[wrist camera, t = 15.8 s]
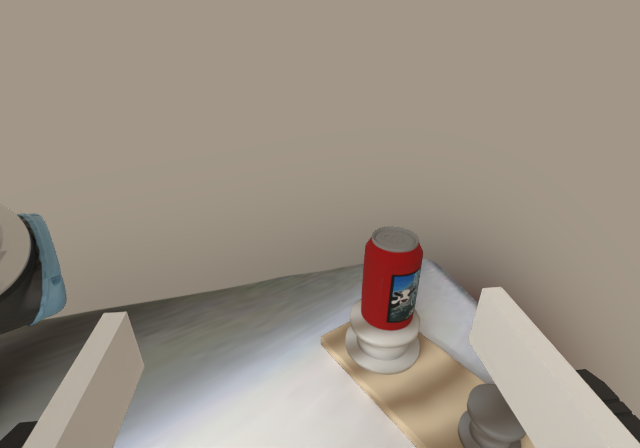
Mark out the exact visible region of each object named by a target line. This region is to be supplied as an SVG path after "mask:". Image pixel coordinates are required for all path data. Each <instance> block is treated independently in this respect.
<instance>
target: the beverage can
mask: <svg viewBox="0 0 640 448" xmlns="http://www.w3.org/2000/svg"><path fill="white" fill-rule="evenodd" d="M422 258H423V251H422V248H421V246H420V244H419V239H418V237H417V235H416V234H415V233H413V232H412V231H410V230H407V229H404V228H400V227H383V228H379V229H377V230H375V231H374V232H373V234H372V237H371V238H370V240H369V241H368V242H367V244H366V246H365V256H364V269H363V283H362V298H361V314H362V316H363V318H364V319H365V320H366V322H368V323H369V324H370V325H372V326H374V327H376V328H378V329H382V330H388V331H394V330H400V329H403V328H405V327H407V326H408V325H409V324H410V323H411V321H412V319H413V313H414V308H415V302H416V296H417V290H418V284H419V278H420V271H421V264H422Z"/></svg>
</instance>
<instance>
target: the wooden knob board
mask: <svg viewBox="0 0 640 448" xmlns="http://www.w3.org/2000/svg"><path fill="white" fill-rule="evenodd" d="M419 326H420V319H419V316H418V314H417V312H416V310H415V309H414V313H413V319H412V321H411V323H410V324H409V325H408V326H407V327H405V328H403V329H400V330H394V331H388V330H382V329H378V328H376V327H374V326H372V325H370V324H369V323H368V322H366V320H365V319H364V318H363V316H362V314H361V299H360V300H359V301H357V302H356V303H355V304H354V306H353V307H352V309H351V314H350V322H348V323H346V324H344V325H342V326H340V327H338V328H336V329H335V330H333V331H331V332H329V333H327V334H325V335H323V336H321V345H322V346H323V347H324V348H325V349H326V350H327V351H328V352H329V354H330V355H331V356H332V357H333V358H334V359H335V360H336V361H337V362H338V363H339V364H340V365H341V366H342V367H343V369H344V370H345V371H346V372H347V373H348V374H349V375H350V376H351V377H352V378H353V379H354V380H355V381H356V382H357V384H358V385H359V386H360V387H361V388H362V389H363V390H364V391H365V392H366V393H367V394H368V395H369V396H370V398H371V399H372V400H373V401H374V402H375V403H376V404H377V405H378V406H379V407H380V408H381V409H382V410H383V411H384V413H385V414H386V415H387V416H388V417H389V418H390V419H391V420H392V421H393V422H394V423H395V424H396V425H397V426H398V428H399V429H400V430H401V431H402V432H403V433H404V434H405V435H406V436H407V437H408V438H409V439H410V440H411V441H412V443H413V444H414V445H415V446H416V447H417V448H535V446H534V445H533V443H532V442H531V440H530V438H529V437H528V435H527V434H526V432H525V430H524V429H523V427H522V426H521V424H520V422H519V421H518V419H517V418H516V416H515V414H514V413H513V411H512V410H511V408H510V406H509V405H508V403H507V402H506V400H505V398H504V397H503V395H502V394H501V392H500V390H499V389H498V387H497V386H496V385H495V384H486V383H484V382H483V381H482V380H481V379H479V378H478V377H477V376H475V375H474V374H473V373H471V372H470V371H469V370H468V369H466V368H465V367H464V366H462V365H461V364H460V363H458V362H457V361H456V360H455V359H453V358H452V357H451V356H449V355H448V354H447V353H445V352H444V351H443V350H442V349H440V348H439V347H438V346H436V345H435V344H434V343H432V342H431V341H430V340H429V339H427V338H426V337H425V336H423V335H422V334H421V333H419Z"/></svg>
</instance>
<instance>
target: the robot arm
mask: <svg viewBox="0 0 640 448" xmlns="http://www.w3.org/2000/svg"><path fill="white" fill-rule="evenodd" d="M65 304H66V291H65V286H64V282H63V278H62V276H61V271H60V266H59V262H58V258H57V255H56V251H55V248H54V245H53V242H52V239H51V236H50V233H49V230H48V228H47V225H46V223H45V221H44V220H43V218H42V217H41V216H40V215H38V214H17V215H16V214H15V213H14V212H13V211H11V210H10V209H8V208H6V207H4V206H2V205H0V334H3V333H6V332H9V331H11V330H14V329H17V328H20V327H23V326H30V325H34V324H36V323H38V322H39V321H40V320H42V319H44V318H46V317H49V316H52V315H54V314H57V313H58V312H60V311H61V310H62V309H63V308H64V306H65ZM468 341H469V342H470V344H471V346H472V347H473V349H474V350H475V352H476V354H477V355H478V357H479V358H480V360H481V362H482V363H483V365H484V366H485V368H486V370H487V371H488V373H489V374H490V376H491V378H492V379H493V381H494V382H495V384H496V386H497V387H498V389H499V390H500V392H501V394H502V395H503V397H504V398H505V400H506V402H507V403H508V405H509V406H510V408H511V410H512V411H513V413H514V414H515V416H516V418H517V419H518V421H519V422H520V424H521V426H522V427H523V429H524V430H525V432H526V434H527V435H528V437H529V438H530V440H531V442H532V443H533V445H534V446H535V448H640V420H639V419H638V418H637V417H636V416H635V415H633V414H632V411H631V410H630V409H629V408H628V407H627V406H626V405H625V404H624V403H623V402H621V401H620V400H619V398H618V396H617V395H615V393H614V392H613V391H612V390H611V389H610V388H609V387H608V386H607V385H606V384H605V383H604V382H603V381H601V380H600V379H598V378H597V377H596V376H594V375H593V374H592V373H590V372H589V371H587V370H586V369H583V370H574V369H573V368H572V366H571V365H570V364H569V363H568V362H567V361H566V360H565V358H564V357H563V356H562V355H561V354H560V353H559V352H558V351H557V349H556V348H555V347H554V346H553V345H552V344H551V343H550V341H549V340H548V339H547V338H546V337H545V336H544V335H543V334H542V333H541V331H540V330H539V329H538V328H537V327H536V326H535V325H534V323H533V322H532V321H531V320H530V319H529V318H528V317H527V316H526V314H525V313H524V312H523V311H522V310H521V309H520V308H519V306H518V305H517V304H516V303H515V302H514V301H513V300H512V299H511V297H510V296H509V295H508V294H507V293H506V292H505V291H504V289H502V287H494V288H483V289H482V292H481V296H480V299H479V303H478V307H477V310H476V314H475V317H474V321H473V325H472V328H471V332H470V335H469V339H468ZM143 369H144V364H143V361H142V358H141V355H140V351H139V348H138V345H137V342H136V339H135V336H134V333H133V330H132V326H131V323H130V320H129V317H128V314H127V312H115V313H104V314H103V315H102V317H101V319H100V320H99V322H98V323H97V325H96V327H95V328H94V330H93V332H92V333H91V335H90V337H89V338H88V340H87V342H86V343H85V345H84V347H83V348H82V350H81V351H80V353H79V355H78V356H77V358H76V360H75V361H74V363H73V365H72V366H71V368H70V370H69V371H68V373H67V375H66V376H65V378H64V380H63V381H62V383H61V384H60V386H59V388H58V389H57V391H56V393H55V394H54V396H53V398H52V399H51V401H50V403H49V404H48V406H47V408H46V409H45V411H44V412H43V414H42V416H41V417H40V419H39V421H33V422H23V423H19V424H18V425H16V426H15V427H14V428H13V429H12V430H11V431H10V432H9V433H8V434H7V435H6V436H5V437H4V438H3V439H2V440H1V441H0V448H113V446H114V443H115V440H116V438H117V435H118V433H119V430H120V428H121V425H122V422H123V420H124V417H125V415H126V412H127V410H128V407H129V405H130V402H131V399H132V397H133V394H134V392H135V389H136V387H137V384H138V381H139V379H140V376H141V374H142V371H143Z"/></svg>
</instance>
